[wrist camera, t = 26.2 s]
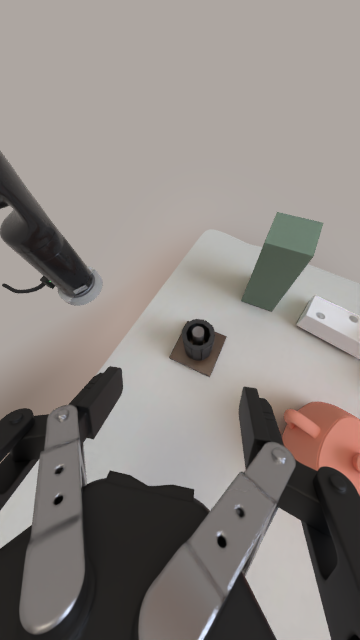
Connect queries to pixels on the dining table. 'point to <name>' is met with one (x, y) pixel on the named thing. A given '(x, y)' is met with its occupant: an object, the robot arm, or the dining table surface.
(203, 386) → the dining table surface
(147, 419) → the dining table surface
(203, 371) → the peg stand
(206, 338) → the ring sleeve
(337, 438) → the teapot
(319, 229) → the rectangular block
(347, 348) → the bracket
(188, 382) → the dining table surface
